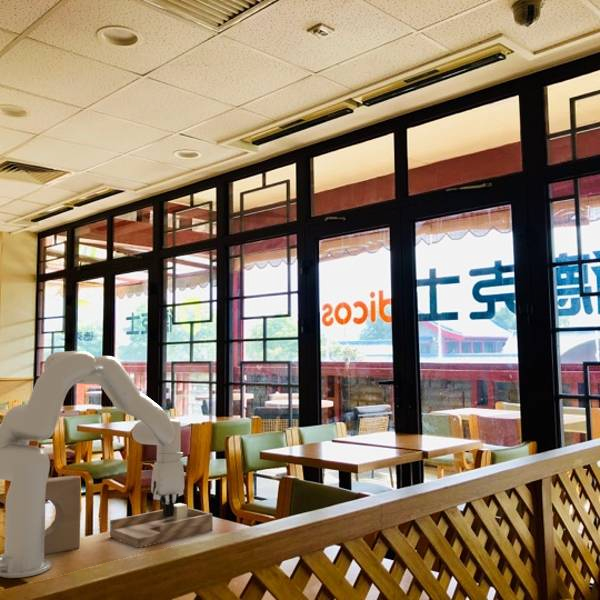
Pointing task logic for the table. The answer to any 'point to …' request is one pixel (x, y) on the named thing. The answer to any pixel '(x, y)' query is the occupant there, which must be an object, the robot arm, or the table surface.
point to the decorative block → (63, 514)
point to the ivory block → (179, 511)
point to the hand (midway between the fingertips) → (168, 515)
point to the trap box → (159, 527)
